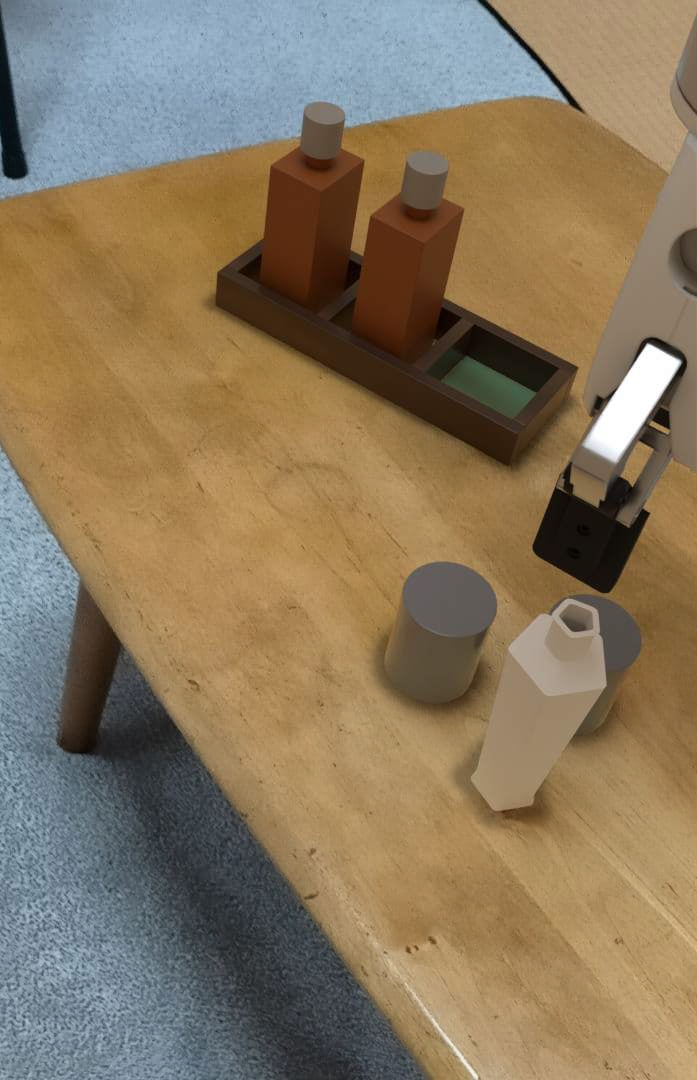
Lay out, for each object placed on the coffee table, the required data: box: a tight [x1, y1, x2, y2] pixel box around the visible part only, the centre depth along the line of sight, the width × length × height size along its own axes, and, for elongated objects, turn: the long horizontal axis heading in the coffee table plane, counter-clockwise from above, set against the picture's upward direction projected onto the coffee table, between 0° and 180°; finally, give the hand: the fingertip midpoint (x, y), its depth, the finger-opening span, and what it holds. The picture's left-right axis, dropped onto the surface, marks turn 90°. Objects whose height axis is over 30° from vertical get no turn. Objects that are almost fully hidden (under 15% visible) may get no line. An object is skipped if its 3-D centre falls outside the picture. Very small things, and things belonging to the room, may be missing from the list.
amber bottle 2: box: [349, 149, 465, 365], centre depth 80 cm, size 4×5×15 cm
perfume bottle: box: [470, 599, 606, 812], centre depth 59 cm, size 5×4×15 cm
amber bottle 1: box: [259, 101, 366, 314], centre depth 82 cm, size 4×5×15 cm
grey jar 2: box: [547, 593, 643, 737], centre depth 66 cm, size 5×5×7 cm
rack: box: [214, 237, 580, 467], centre depth 85 cm, size 9×24×4 cm, turn 56°
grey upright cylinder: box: [383, 561, 498, 705], centre depth 66 cm, size 5×5×7 cm
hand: (628, 495), depth 47 cm, fingers open, 9 cm apart
